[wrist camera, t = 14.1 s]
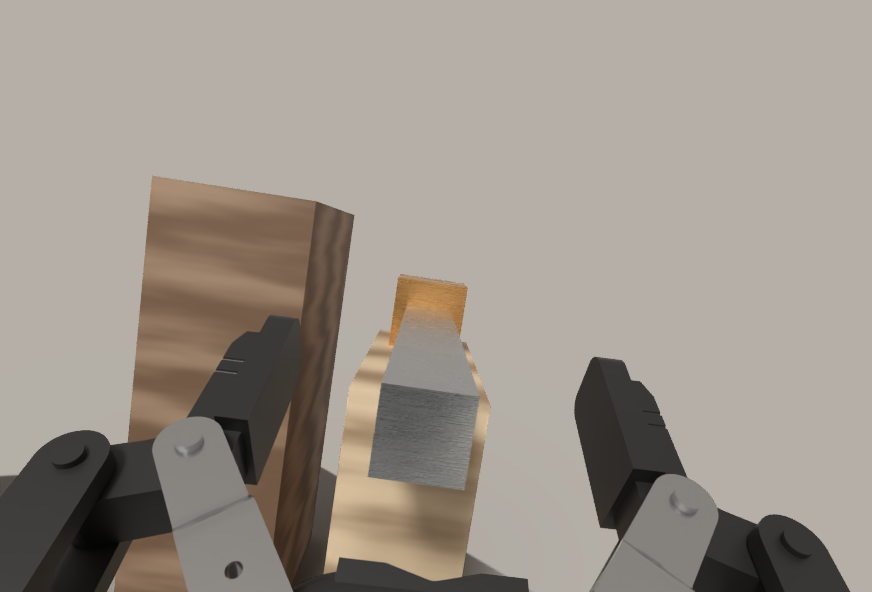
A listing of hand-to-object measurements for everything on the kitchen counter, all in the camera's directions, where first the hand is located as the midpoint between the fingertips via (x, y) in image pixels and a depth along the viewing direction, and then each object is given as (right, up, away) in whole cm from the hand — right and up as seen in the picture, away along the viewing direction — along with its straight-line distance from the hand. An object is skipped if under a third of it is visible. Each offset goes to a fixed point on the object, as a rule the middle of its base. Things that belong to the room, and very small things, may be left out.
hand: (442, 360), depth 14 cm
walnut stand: (-17, -22, +28) cm, 40 cm away
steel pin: (-1, -4, +17) cm, 17 cm away
